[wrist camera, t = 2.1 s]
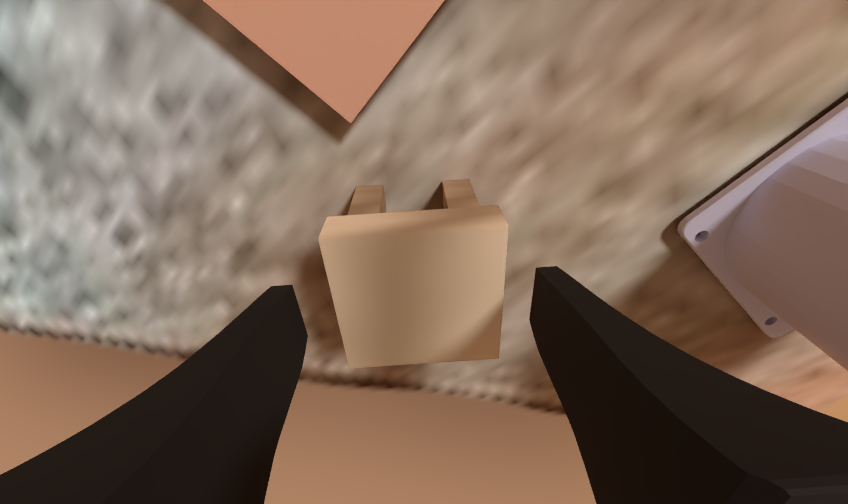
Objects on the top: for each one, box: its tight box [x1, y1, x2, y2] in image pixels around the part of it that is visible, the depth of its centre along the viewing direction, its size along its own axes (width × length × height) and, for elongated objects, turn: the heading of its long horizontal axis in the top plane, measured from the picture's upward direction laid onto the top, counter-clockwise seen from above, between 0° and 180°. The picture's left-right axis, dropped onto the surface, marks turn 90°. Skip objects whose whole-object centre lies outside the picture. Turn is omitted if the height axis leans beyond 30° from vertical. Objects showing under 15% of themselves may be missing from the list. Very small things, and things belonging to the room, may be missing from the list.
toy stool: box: [318, 179, 509, 368], centre depth 13 cm, size 5×5×4 cm
